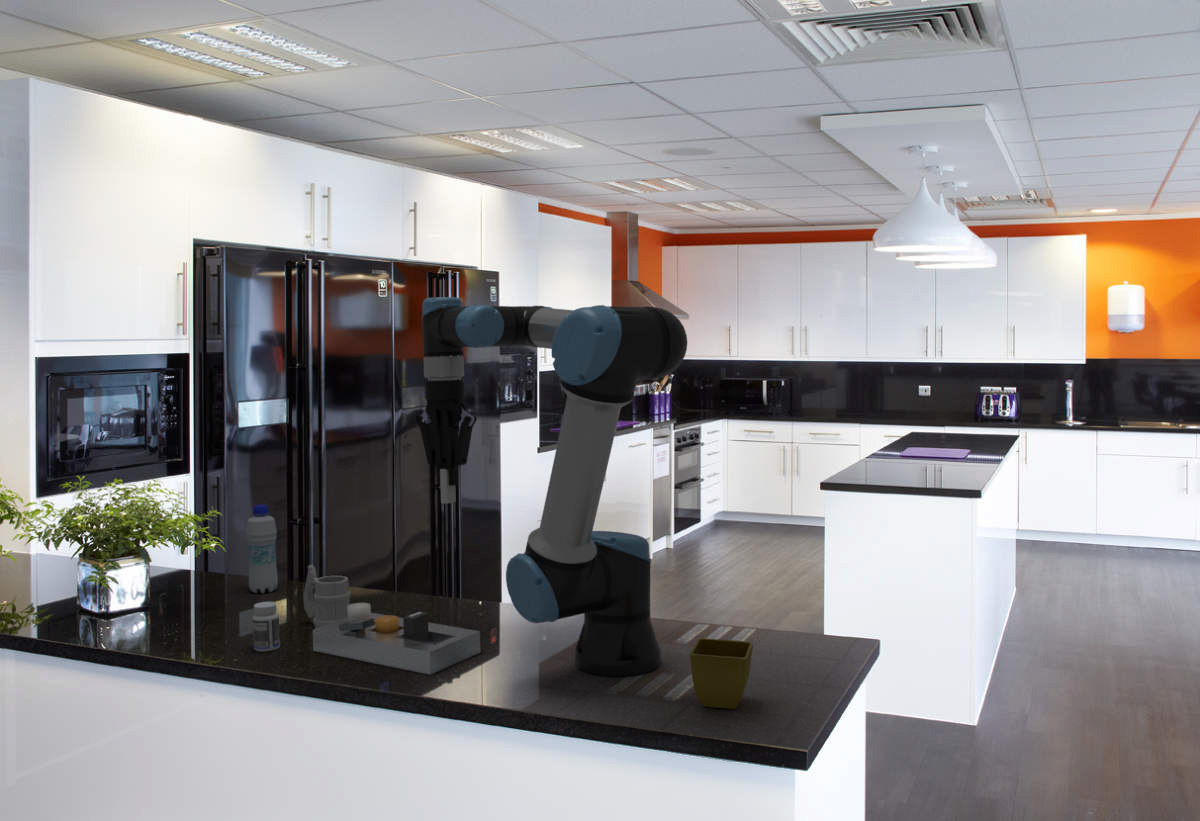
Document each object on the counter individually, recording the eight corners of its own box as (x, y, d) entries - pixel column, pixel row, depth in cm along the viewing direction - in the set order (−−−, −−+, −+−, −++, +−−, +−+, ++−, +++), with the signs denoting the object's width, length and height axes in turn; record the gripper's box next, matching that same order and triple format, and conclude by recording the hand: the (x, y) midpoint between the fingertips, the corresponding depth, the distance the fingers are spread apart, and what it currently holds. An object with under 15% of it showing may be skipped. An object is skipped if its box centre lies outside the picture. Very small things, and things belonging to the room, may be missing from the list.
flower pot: (753, 696, 167) (753, 641, 166) (747, 715, 158) (746, 657, 158) (698, 692, 169) (698, 637, 168) (689, 711, 161) (689, 653, 160)
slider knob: (428, 641, 191) (427, 612, 190) (413, 647, 187) (412, 617, 187) (419, 639, 192) (418, 610, 192) (404, 645, 188) (403, 616, 188)
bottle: (285, 589, 240) (282, 503, 239) (261, 596, 234) (258, 508, 233) (265, 586, 244) (262, 501, 242) (241, 592, 238) (238, 505, 236)
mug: (332, 635, 203) (330, 574, 202) (290, 626, 210) (288, 567, 209) (361, 625, 210) (359, 566, 209) (319, 617, 216) (318, 560, 215)
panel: (480, 652, 191) (479, 628, 191) (430, 674, 179) (429, 648, 179) (366, 631, 205) (365, 608, 205) (313, 650, 193) (312, 626, 193)
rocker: (375, 624, 190) (373, 618, 190) (363, 628, 187) (362, 622, 187) (351, 627, 193) (350, 620, 193) (339, 631, 191) (338, 624, 191)
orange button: (403, 633, 194) (403, 617, 194) (388, 638, 190) (388, 622, 190) (386, 629, 196) (386, 614, 196) (371, 635, 192) (370, 619, 192)
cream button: (375, 620, 197) (375, 604, 197) (359, 625, 194) (359, 609, 193) (359, 617, 199) (358, 601, 199) (343, 622, 196) (342, 606, 196)
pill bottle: (273, 643, 199) (271, 599, 198) (284, 648, 195) (282, 604, 195) (249, 648, 196) (247, 604, 195) (259, 653, 192) (258, 608, 192)
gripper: (484, 378, 199) (487, 501, 200) (429, 378, 205) (433, 498, 206) (460, 379, 192) (464, 507, 194) (404, 380, 198) (409, 503, 200)
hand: (448, 502), depth 200 cm, fingers closed
